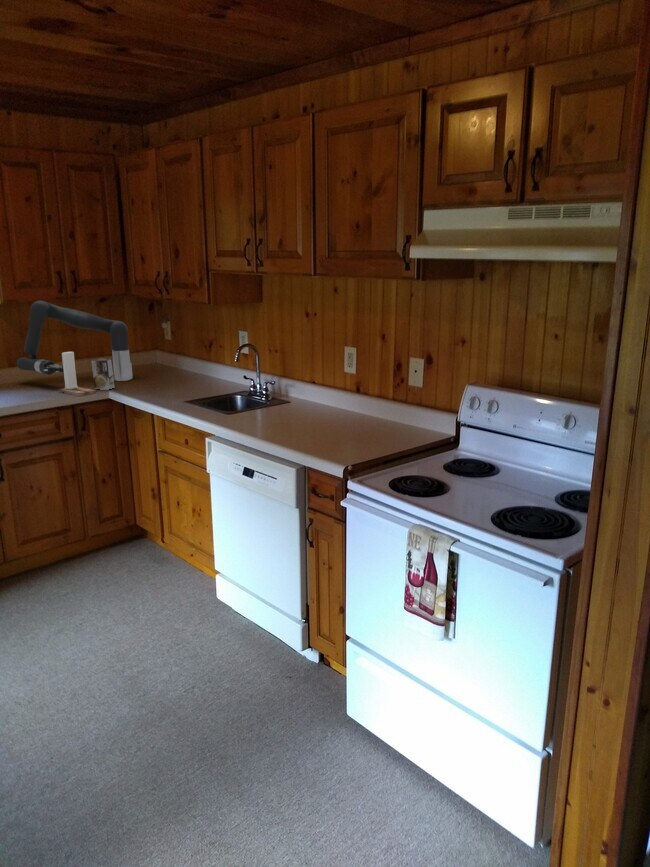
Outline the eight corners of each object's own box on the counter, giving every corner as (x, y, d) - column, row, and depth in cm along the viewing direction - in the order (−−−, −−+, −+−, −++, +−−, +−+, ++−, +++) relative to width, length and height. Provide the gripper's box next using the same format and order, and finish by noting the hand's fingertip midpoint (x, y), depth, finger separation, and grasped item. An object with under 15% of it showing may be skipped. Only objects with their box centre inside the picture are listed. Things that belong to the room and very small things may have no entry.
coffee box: (115, 388, 358) (112, 358, 354) (110, 390, 352) (107, 360, 348) (99, 387, 359) (96, 358, 355) (93, 390, 353) (91, 360, 349)
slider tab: (73, 386, 352) (69, 351, 347) (77, 387, 350) (74, 352, 345) (64, 388, 348) (61, 352, 343) (69, 389, 346) (65, 353, 341)
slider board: (75, 389, 355) (75, 386, 355) (95, 392, 346) (95, 389, 346) (59, 392, 347) (59, 389, 347) (79, 396, 338) (79, 393, 338)
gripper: (33, 361, 352) (52, 364, 343) (55, 358, 362) (74, 361, 353) (34, 375, 354) (54, 379, 345) (56, 371, 365) (76, 375, 355)
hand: (64, 370), depth 349 cm, fingers closed
